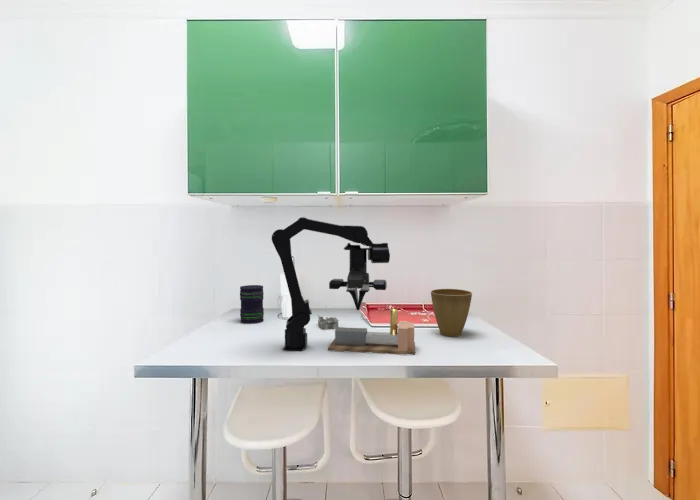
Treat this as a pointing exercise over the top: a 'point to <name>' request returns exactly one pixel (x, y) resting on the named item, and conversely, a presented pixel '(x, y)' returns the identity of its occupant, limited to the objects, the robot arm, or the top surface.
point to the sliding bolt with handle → (385, 336)
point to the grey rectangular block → (350, 336)
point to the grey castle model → (328, 323)
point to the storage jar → (251, 304)
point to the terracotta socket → (405, 336)
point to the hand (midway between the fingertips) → (358, 310)
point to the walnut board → (371, 348)
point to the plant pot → (451, 310)
